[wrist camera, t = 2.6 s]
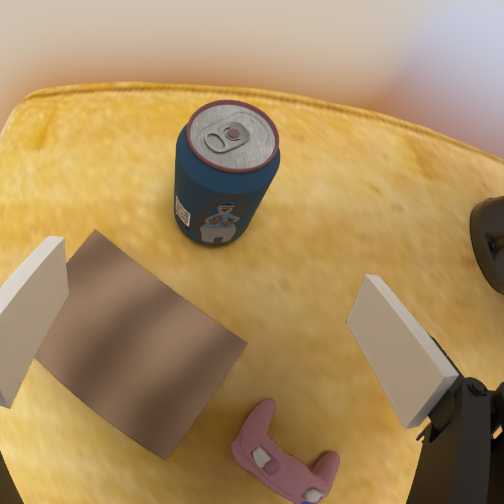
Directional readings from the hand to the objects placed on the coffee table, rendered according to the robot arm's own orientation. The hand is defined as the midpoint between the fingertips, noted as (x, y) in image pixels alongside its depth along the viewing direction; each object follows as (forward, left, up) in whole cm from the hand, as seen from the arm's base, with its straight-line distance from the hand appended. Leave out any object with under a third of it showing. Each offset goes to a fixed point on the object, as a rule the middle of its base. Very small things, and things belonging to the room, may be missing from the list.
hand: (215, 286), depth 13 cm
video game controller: (-12, +6, -14) cm, 20 cm away
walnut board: (+4, +5, -14) cm, 15 cm away
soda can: (+5, -9, -14) cm, 17 cm away
